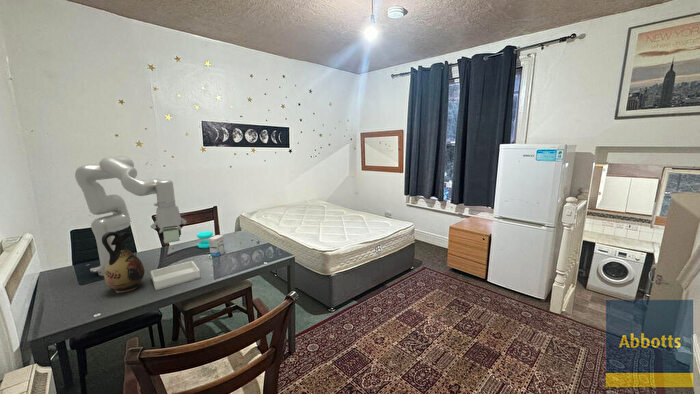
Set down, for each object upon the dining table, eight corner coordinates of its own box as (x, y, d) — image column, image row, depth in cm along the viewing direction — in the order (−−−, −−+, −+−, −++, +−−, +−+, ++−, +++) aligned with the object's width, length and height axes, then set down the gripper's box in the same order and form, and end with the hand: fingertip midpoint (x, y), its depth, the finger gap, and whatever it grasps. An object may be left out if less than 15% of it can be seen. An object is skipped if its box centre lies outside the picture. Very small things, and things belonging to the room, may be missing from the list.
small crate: (164, 243, 140) (163, 232, 139) (162, 240, 145) (161, 229, 144) (179, 240, 145) (178, 229, 144) (177, 237, 149) (175, 226, 148)
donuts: (193, 235, 188) (200, 230, 198) (195, 249, 190) (202, 244, 200) (208, 234, 189) (215, 230, 199) (210, 248, 191) (216, 243, 201)
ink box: (216, 256, 177) (215, 239, 175) (209, 256, 178) (208, 238, 176) (225, 251, 185) (223, 235, 183) (218, 251, 186) (217, 234, 184)
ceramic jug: (133, 278, 149) (125, 224, 143) (153, 283, 143) (145, 227, 137) (95, 294, 133) (84, 234, 127) (115, 301, 128) (105, 238, 122)
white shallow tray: (155, 290, 136) (154, 282, 136) (151, 278, 148) (150, 271, 147) (200, 278, 149) (199, 270, 149) (193, 268, 161) (192, 260, 160)
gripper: (146, 208, 133) (151, 243, 136) (187, 203, 144) (191, 236, 148) (144, 205, 139) (149, 239, 142) (184, 200, 150) (188, 232, 153)
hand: (170, 237), depth 145 cm, fingers closed on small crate, 6 cm apart
